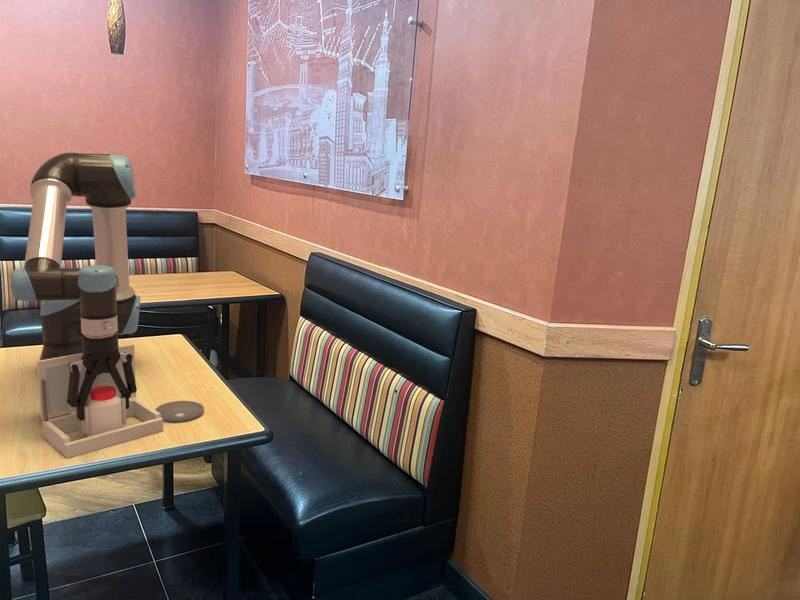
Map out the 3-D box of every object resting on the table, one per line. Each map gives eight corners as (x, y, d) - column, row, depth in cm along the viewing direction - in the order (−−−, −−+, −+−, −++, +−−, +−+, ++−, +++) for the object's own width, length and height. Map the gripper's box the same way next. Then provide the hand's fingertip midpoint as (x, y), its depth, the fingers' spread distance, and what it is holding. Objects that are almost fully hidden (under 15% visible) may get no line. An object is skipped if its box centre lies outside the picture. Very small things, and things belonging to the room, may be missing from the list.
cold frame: (42, 435, 146) (36, 361, 142) (135, 411, 162) (132, 344, 158) (67, 458, 136) (62, 378, 132) (163, 430, 152) (161, 358, 148)
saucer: (146, 412, 162) (145, 408, 162) (188, 400, 171) (188, 397, 171) (169, 426, 155) (169, 423, 154) (212, 414, 163) (212, 410, 163)
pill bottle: (108, 442, 145) (106, 397, 142) (79, 438, 146) (76, 393, 144) (129, 429, 152) (127, 386, 150) (101, 425, 153) (98, 382, 151)
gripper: (57, 345, 134) (64, 445, 139) (151, 330, 149) (153, 420, 154) (44, 337, 139) (51, 433, 144) (136, 323, 154) (139, 411, 159)
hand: (104, 426), depth 149 cm, fingers closed on pill bottle, 8 cm apart
